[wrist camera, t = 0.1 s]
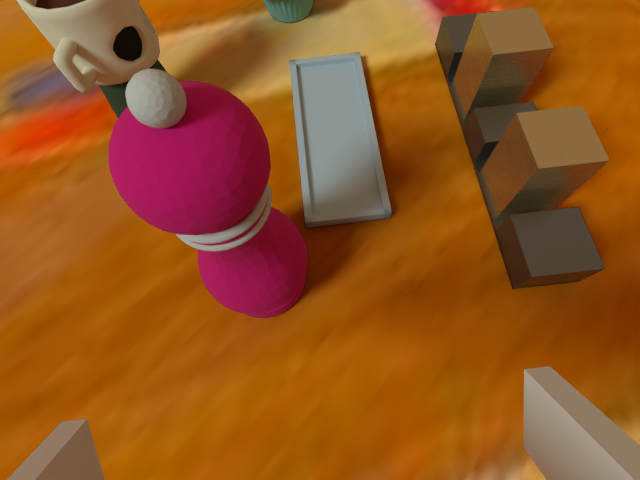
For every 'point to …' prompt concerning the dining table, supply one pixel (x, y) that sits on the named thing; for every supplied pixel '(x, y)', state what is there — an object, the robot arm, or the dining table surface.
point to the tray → (337, 142)
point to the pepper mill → (209, 189)
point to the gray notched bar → (527, 228)
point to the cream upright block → (542, 160)
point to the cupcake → (289, 9)
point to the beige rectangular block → (501, 59)
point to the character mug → (98, 42)
